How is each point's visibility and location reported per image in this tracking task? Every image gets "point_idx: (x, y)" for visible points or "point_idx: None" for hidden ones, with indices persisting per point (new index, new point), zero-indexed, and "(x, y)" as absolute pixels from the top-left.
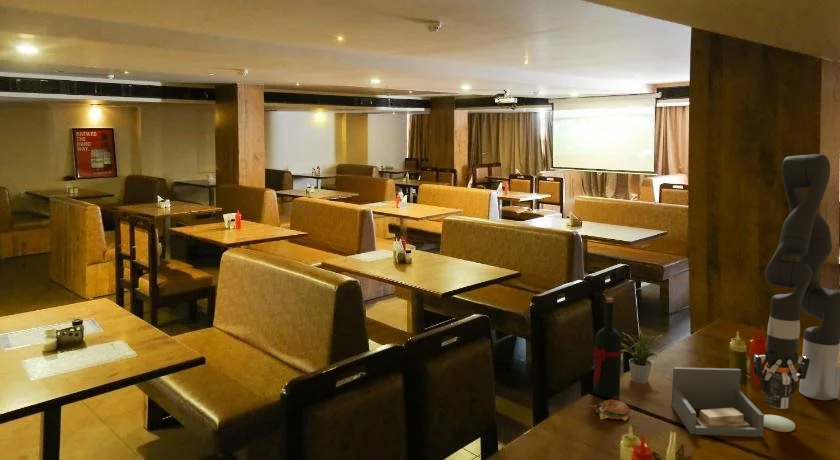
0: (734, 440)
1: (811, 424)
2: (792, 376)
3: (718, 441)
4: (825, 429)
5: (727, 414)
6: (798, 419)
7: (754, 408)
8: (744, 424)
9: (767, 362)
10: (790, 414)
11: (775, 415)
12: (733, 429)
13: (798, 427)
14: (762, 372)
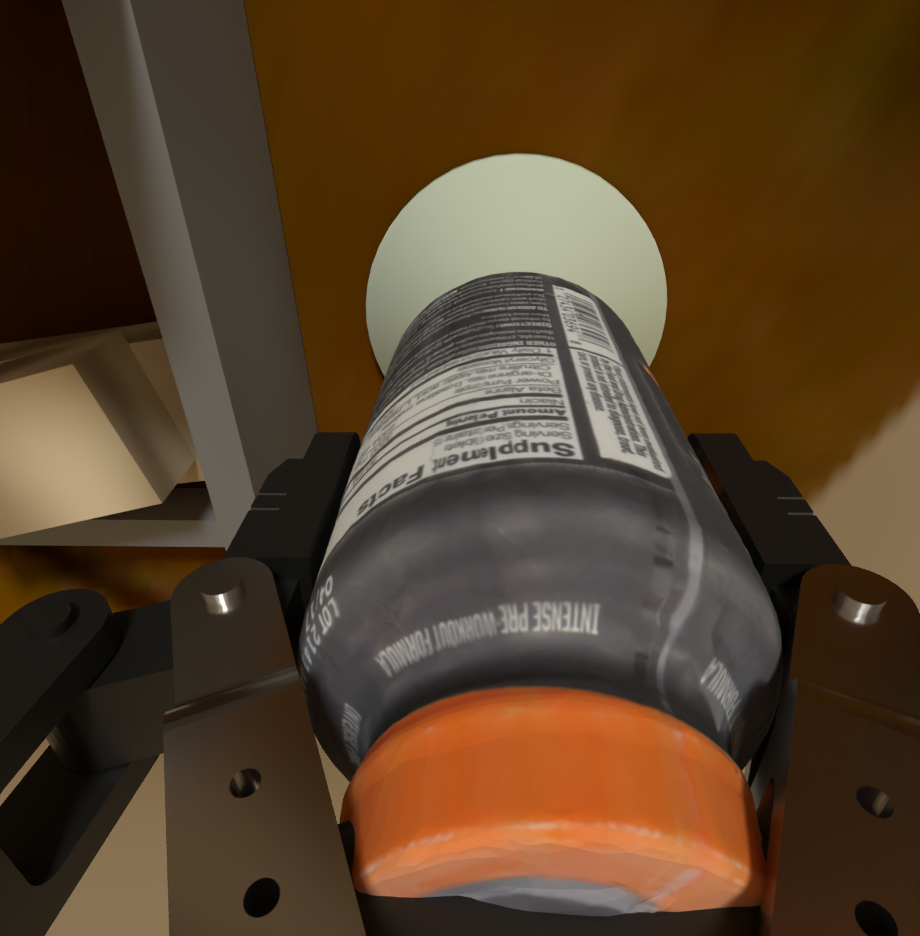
0: (146, 559)
1: (833, 292)
2: (747, 776)
3: (53, 574)
4: (880, 376)
5: (25, 505)
6: (786, 191)
7: (232, 522)
8: (202, 473)
9: (173, 901)
10: (787, 60)
11: (576, 170)
12: (117, 542)
13: (673, 358)
14: (176, 645)
